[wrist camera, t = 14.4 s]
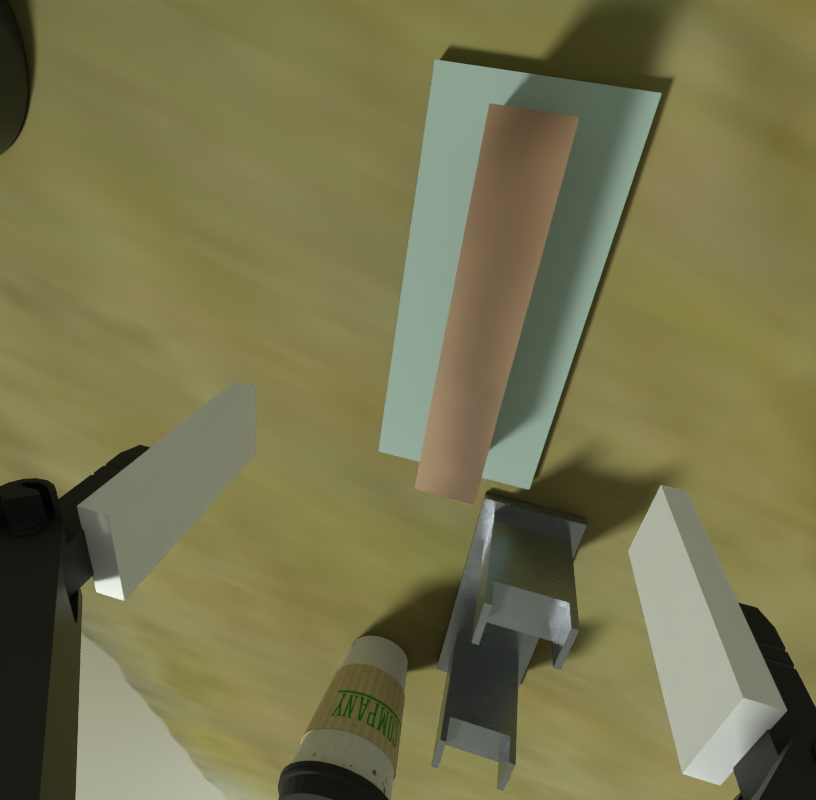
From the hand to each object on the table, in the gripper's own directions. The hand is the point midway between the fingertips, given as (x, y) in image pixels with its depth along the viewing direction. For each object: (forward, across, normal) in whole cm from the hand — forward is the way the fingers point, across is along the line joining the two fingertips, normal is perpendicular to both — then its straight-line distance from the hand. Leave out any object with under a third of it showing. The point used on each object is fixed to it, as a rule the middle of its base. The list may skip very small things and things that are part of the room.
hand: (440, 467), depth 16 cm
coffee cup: (+20, -3, -39) cm, 44 cm away
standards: (+20, +7, -26) cm, 33 cm away
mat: (+20, 0, 0) cm, 20 cm away
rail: (+19, 0, 0) cm, 19 cm away
